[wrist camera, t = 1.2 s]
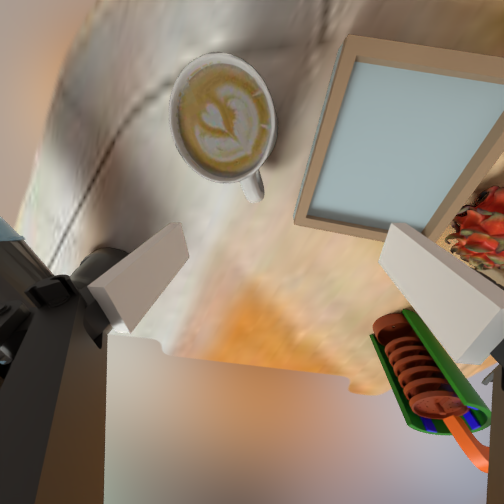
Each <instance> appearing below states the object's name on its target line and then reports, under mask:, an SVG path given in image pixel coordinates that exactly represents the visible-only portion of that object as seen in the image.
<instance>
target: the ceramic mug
mask: <svg viewBox="0 0 504 504" xmlns="http://www.w3.org/2000/svg"><path fill="white" fill-rule="evenodd" d="M476 270H477V271H479V272H482V273H484V274H485V275H487V276H488V277H490V278H491V279H493V280H494V281H496V283H497V284H500V285H502V286H503V287H504V268H502V269H498V268H497V267H495V266H494V268H493V269H490V270H483V271H481V270H479V269H478V268H477V269H476Z"/></svg>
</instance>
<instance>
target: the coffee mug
mask: <svg viewBox="0 0 504 504" xmlns="http://www.w3.org/2000/svg"><path fill="white" fill-rule="evenodd" d="M169 123H170V129H171V134H172V137H173V140H174V143H175V145H176V148H177V149H178V151H179V153H180V155H181V156H182V158H183V159H184V161H185V162H186V163H187V164H188V165H189V166H190V167H191V169H192V170H194V171H195V172H196V173H197V174H199V175H200V176H202V177H204V178H206V179H208V180H210V181H213V182H217V183H235V182H240V185H241V187H242V190H243V192H244V194H245V196H246V198H247V200H248V201H249V202H250V203H257V202H260V201H261V200H262V199H263V198H264V186H263V182H262V178H261V175H260V172H259V168H260V167H261V166H262V165H263V163H264V162H265V161H266V159H267V158H268V157H269V155H270V154H271V152H272V150H273V148H274V146H275V143H276V139H277V134H278V121H277V115H276V111H275V108H274V104H273V100H272V97H271V94H270V92H269V89H268V87H267V85H266V84H265V82H264V80H263V79H262V77H261V76H260V75H259V73H258V72H257V71H256V70H255V69H254V68H253V67H252V66H251V65H250V64H249V63H247V62H246V61H244V60H243V59H241V58H239V57H237V56H235V55H232V54H228V53H222V52H212V53H208V54H204V55H202V56H200V57H198V58H196V59H194V60H193V61H191V62H190V63H189V64H188V65H187V66H186V67H185V68H184V69H183V70H182V71H181V73H180V74H179V76H178V78H177V80H176V82H175V84H174V86H173V89H172V92H171V96H170V102H169Z"/></svg>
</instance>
